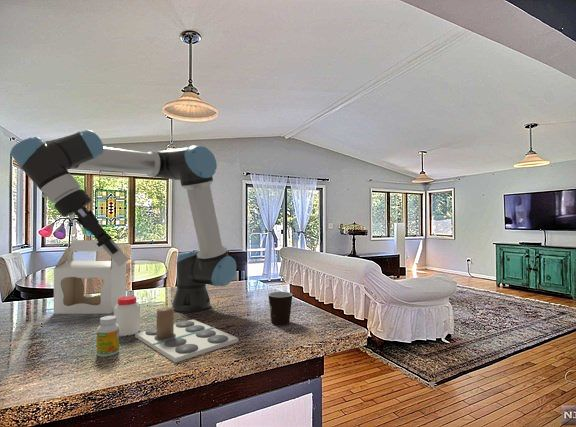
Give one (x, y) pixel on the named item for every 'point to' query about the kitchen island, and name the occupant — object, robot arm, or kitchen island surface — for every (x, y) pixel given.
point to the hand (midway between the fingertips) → (122, 262)
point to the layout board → (183, 337)
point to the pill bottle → (127, 315)
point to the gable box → (71, 272)
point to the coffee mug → (280, 307)
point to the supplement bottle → (107, 336)
